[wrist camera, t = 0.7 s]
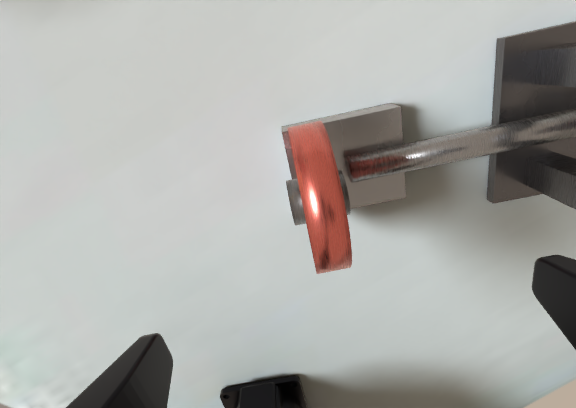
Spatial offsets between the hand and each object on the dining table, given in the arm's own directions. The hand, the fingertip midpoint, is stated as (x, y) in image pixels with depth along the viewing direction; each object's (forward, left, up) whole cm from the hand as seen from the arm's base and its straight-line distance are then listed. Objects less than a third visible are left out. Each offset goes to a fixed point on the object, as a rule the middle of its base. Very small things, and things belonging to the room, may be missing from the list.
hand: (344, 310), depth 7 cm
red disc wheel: (0, -8, -12) cm, 14 cm away
